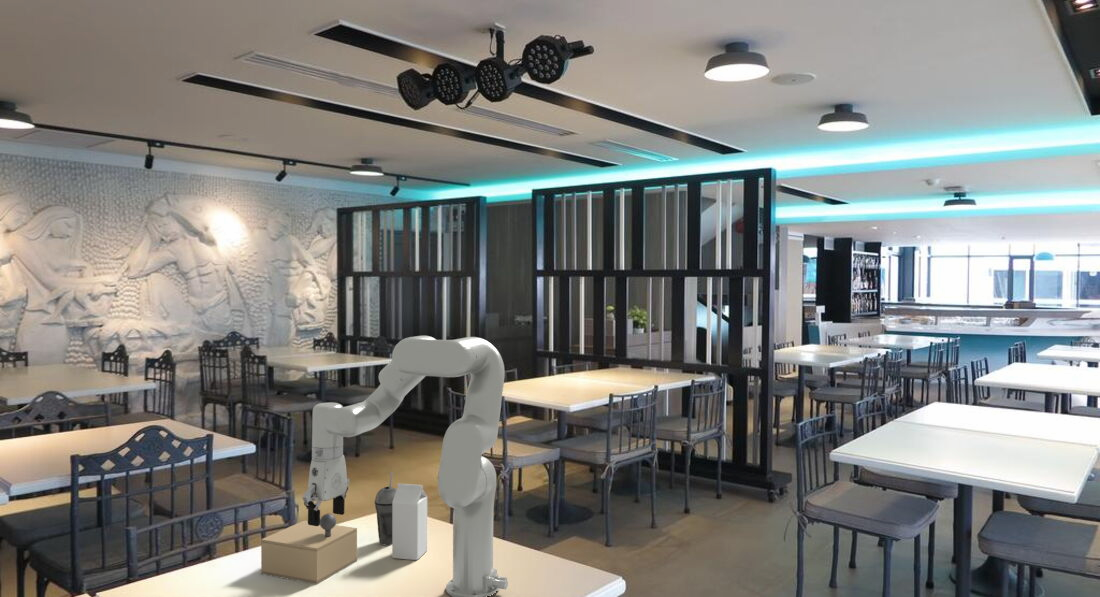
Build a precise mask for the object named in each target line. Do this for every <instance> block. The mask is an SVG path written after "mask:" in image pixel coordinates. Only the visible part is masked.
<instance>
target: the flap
mask: <svg viewBox="0 0 1100 597" xmlns="http://www.w3.org/2000/svg"><path fill="white" fill-rule="evenodd" d="M355 531H357V532H358V527H352V526H344V525H338V524H337V519H336V517H335V514H333V513H325V514H324V515H322V516H320V525H319V526H312V525H308V520H302V521H300V522H297V523H296V524H293V525H291V526H288V527H286V528H284V529H282V530H279V531H277V532H275V533H273V534H271V535H268V536H266V537H263V538H261V539H260V542H265V543H272V544H278V545H284V546H290V547H296V548H302V549H309V550H315V551H318V550H320V549H322V548H324V547H326V546H328V545H329V544H331V543H333V542H335V541H337V540H339V539H341V538H343V537H345V536H347V535H349V534H351V533H353V532H355Z"/></svg>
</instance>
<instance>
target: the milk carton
mask: <svg viewBox="0 0 1100 597" xmlns="http://www.w3.org/2000/svg"><path fill="white" fill-rule="evenodd" d="M423 488H424V486H423V484H412V483H411V484H410V483H397V488H396V490H397V491H396V493H395V496H394V499H393V502H392V544H391V546H392V552H391V554H392V556H391V557H392V559H401V560H412V561H418V560H419V559H420V558H421V557H422V556H423V555H424V554H425V553H427V551H428V495H427V493H426V492H425V490H424V489H423Z"/></svg>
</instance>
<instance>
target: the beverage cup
mask: <svg viewBox="0 0 1100 597" xmlns="http://www.w3.org/2000/svg"><path fill="white" fill-rule="evenodd" d="M393 474H394V471H391V472H390V477H389V478H390V479H389V486H384V487H381V489H379V490H378V491H377V493H376V496H375V498H374V507H375V510H376V512H375V513H376V523H377V533H378V540H379V544H380V545H382V546H392V502H393V499H394V496H395V493H396V491H397V488H394V487H393V486H392V483H393Z"/></svg>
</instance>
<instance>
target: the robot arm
mask: <svg viewBox="0 0 1100 597" xmlns="http://www.w3.org/2000/svg"><path fill="white" fill-rule="evenodd" d="M505 372H506V371H505V364H504V361H503V358H502V355H501V353H500V352H499V350H498V349H497V348H496V347H495V346H494V345H493V344H492V343H491V342H489V341H488V340H486V339H484V338H482V337H477V336H467V337H461V338H456V339H436V338H434V337H432V336H429V335H417V336H409V337H405V338H403V339H401V340H399V342H398V343H397V344H396V345H395V347H394V348H393V351H392V355H391V361H389V363H387V364H386V365H385V366H384V367H383V368H382V369H381V370H380V372H379V374H378V381H379V383H380V384H379V385H378V386H377V388H376V389H375V390H374V391H373V392H372V393H371V394H370V395H369V396H368V397H367V398H365V400H364V401H361V402H357V403H353V404H350V405H347V406H343V405H342V404H340V403H338V402H321V403H317V404H315V405H314V406H313V408H312V418H311V419H312V420H311V421H312V427H311V428H312V431H311V432H312V433H311V462H310V467H309V472H308V473H309V475H308V484H307V485H308V488H307V490H305V492H304V493H303V494H302V496H301V498H302V501H303V504H304V506H305V509H306V510H307V521H308V525H312V526H319V525H320V519H321V510H320V509H319V508H320V506H321V503H322V502H327V501H330V500H332V514H333V515H335V514H336V515H341V516H343V515H344V514H345V508H346V507H345V506H346V505H345V501H346V500H345V499H346V498H347V492H348V490H349V485H350V481H351V479H350V478H348V476H347V475H348V474H347V472H348V471H347V464H346V458H345V455H344V438H351V437H352V438H353V437H355V436H356V437H357V436H359V435H361V434H363V433H366V432H370V431H372V430H374V429H376V428H377V427H379V426H380V425H381V424H382V423H383V422H384V421H385V420H386V419H388V418H389V417H390V416H391V415H392V414H393V413H394V412H395V411H396V410H397V409H398V408H399V406H400V405H401V403H402V402H403V401H404V398H405V396H407V395H408V393H409V392H410V391H411V390H413V389H414V388H415V387H416V386H417V385H418V384H419V383H420V382H421V381H423V379H425V378H426V377H437V378H439V377H440V378H457V377H459V378H460V377H463V376H465V375H470V380H469V383H468V387H467V390H466V393H465V402H464V408H463V414H462V417H461V418H458V419H455V421H453V422H452V423H451V424H449V427H448V428H447V429H446V431H445V434H444V437H443V440H442V445H441V452H440V453H441V455H440V459H439V460H440V461H439V468H438V476H437V490H438V494H439V495H438V496H439V497H440V498H441V500H442V501H443V503H444V504H445V505H447V506H448V507H450V508H453V514H452V520H453V521H452V579H449V581H448V582H447V584H446V586H445V588H446V589H445V590H446V593H447V595H449V596H451V597H486V596H490V595H492V594H494V593H495V592H496V591H498V589H499V590H500V589H501V590H504V591H506V590H507V588H508V587H509V582H508V578H507V577H506V576H499V574H498V569H497V568H494V506H495V504H494V503H495V498H496V496H495V495H496V488H497V471H496V468H495V467H494V464H493V463H492V462H491V460H489V459H488V458H487V457H485V456H482V455H483V454H485V453H486V452H488V451H489V450H491V449H492V448H493V447H494V446H495V445H496V442H497V440H498V435H499V434H498V433H499V424H500V416H501V408H502V401H503V400H502V399H503V394H504V393H503V392H504V387H505V386H504V384H505ZM315 501H316V502H315ZM314 502H315V503H314ZM498 592H499V591H498ZM494 595H495V594H494ZM492 596H493V595H492ZM490 597H491V596H490Z"/></svg>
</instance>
